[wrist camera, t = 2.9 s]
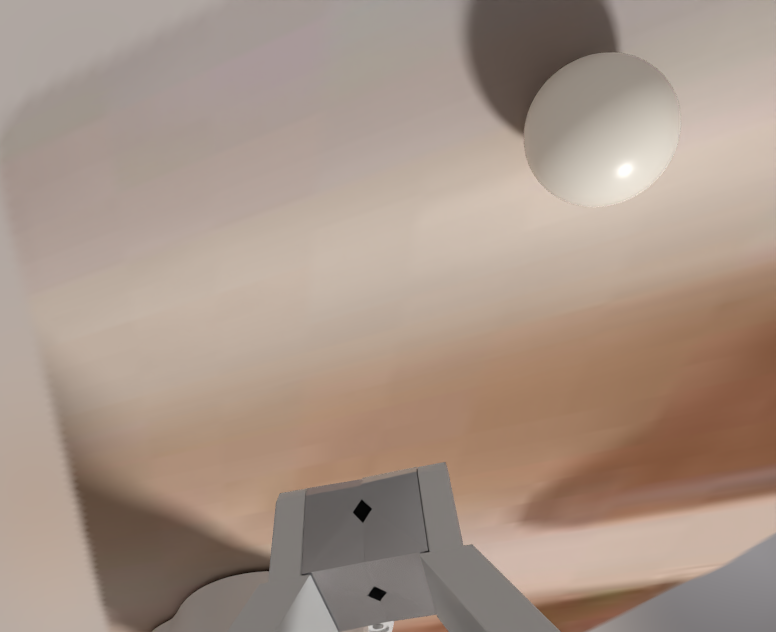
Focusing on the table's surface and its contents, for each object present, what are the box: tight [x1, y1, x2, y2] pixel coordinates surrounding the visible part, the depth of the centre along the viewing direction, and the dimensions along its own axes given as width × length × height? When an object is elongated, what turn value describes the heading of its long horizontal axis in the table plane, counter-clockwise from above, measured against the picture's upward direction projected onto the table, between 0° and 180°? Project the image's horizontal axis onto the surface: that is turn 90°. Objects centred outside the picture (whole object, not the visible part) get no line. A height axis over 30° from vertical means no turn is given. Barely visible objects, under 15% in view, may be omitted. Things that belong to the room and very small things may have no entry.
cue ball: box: [524, 52, 681, 207], centre depth 22 cm, size 6×6×6 cm
